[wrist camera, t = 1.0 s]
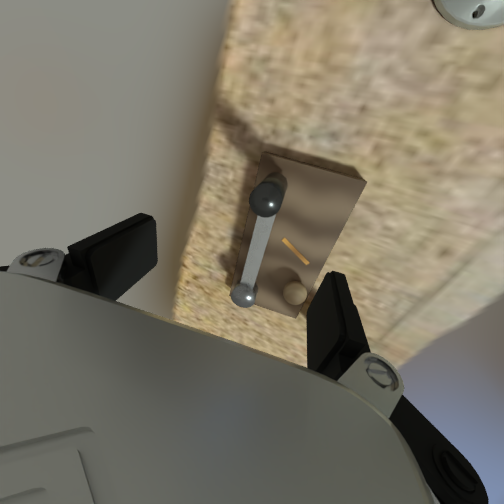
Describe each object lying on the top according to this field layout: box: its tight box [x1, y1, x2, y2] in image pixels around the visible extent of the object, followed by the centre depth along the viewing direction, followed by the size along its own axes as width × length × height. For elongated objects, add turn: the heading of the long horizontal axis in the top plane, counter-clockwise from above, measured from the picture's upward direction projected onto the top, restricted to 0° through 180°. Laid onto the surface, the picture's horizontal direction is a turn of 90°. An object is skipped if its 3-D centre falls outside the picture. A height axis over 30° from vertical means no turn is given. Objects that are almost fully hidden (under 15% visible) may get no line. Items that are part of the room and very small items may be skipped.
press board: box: [229, 152, 367, 318], centre depth 33 cm, size 27×14×6 cm, turn 167°
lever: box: [231, 172, 288, 308], centre depth 29 cm, size 24×4×10 cm, turn 167°
